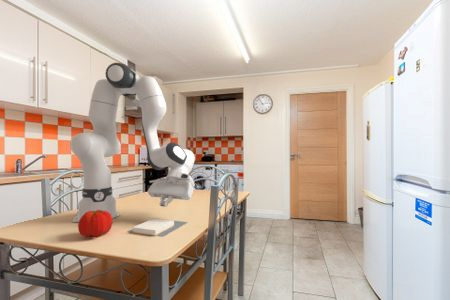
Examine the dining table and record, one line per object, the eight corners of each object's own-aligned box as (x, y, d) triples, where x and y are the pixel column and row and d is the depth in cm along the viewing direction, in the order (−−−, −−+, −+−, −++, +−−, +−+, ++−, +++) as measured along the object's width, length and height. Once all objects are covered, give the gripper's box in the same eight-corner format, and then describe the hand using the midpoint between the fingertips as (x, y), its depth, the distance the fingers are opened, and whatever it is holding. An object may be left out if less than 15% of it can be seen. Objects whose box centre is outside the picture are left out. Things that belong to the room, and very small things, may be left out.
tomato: (76, 234, 84) (77, 210, 85) (109, 228, 91) (109, 206, 91) (79, 243, 76) (79, 217, 76) (115, 236, 82) (115, 212, 83)
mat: (156, 219, 103) (156, 218, 103) (188, 223, 97) (188, 222, 97) (126, 232, 86) (126, 231, 86) (162, 238, 80) (162, 236, 80)
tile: (153, 218, 96) (132, 227, 85) (174, 220, 93) (155, 230, 81) (153, 223, 96) (132, 232, 85) (174, 225, 92) (155, 235, 81)
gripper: (153, 174, 105) (138, 199, 96) (193, 175, 98) (181, 203, 89) (159, 182, 109) (145, 207, 100) (198, 185, 102) (186, 212, 93)
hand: (162, 205), depth 94 cm, fingers closed
